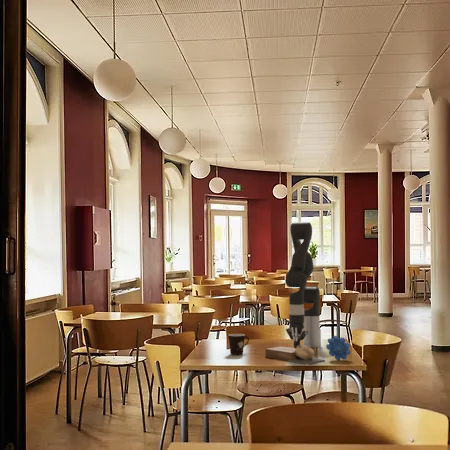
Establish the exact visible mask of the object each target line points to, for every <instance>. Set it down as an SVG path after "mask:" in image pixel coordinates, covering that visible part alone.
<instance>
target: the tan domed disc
mask: <svg viewBox="0 0 450 450" xmlns="http://www.w3.org/2000/svg"><path fill="white" fill-rule="evenodd" d="M295 354H296V355H297V356H298V357H300V358H302V359H305V360H311V359H312V358H314V355H315V350H314V348H310V347H308V346H306V345H303V344H300V345H297V348H296V350H295Z"/></svg>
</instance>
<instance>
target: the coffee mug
mask: <svg viewBox="0 0 450 450" xmlns="http://www.w3.org/2000/svg"><path fill="white" fill-rule="evenodd" d="M245 339H247V341H246V343H245ZM249 341H250V338H249V336H246V334H243V333H230V334H228V344H229V352H230V355H231V356H243V355H244V348H245V347H246V346H247V345H248V344H249Z"/></svg>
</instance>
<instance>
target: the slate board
mask: <svg viewBox="0 0 450 450" xmlns="http://www.w3.org/2000/svg"><path fill="white" fill-rule="evenodd" d="M325 361H326V360H325V359H324V358H316V357H313V358H312V359H311V360H305V359H302V358H300V359H295V360H290V361H289V362H290V363H294V364H300V365H306V364H309V365H313V363H314V364H318V363H324V362H325Z"/></svg>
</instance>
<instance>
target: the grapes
mask: <svg viewBox="0 0 450 450" xmlns="http://www.w3.org/2000/svg"><path fill="white" fill-rule="evenodd" d="M350 346H351V345H350V343H348V342H346V338H345V337H342V336H341V337H339V336H337V335H333V336H332V338H331V337H329V338H327V344H326V349H327V351H328V354H329V356H330V357H334V359H335V360H337V361H340V360H341V359H342V360H344V361H345V360H347V357H348V356H349V355H351V350H350V348H351V347H350Z"/></svg>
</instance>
